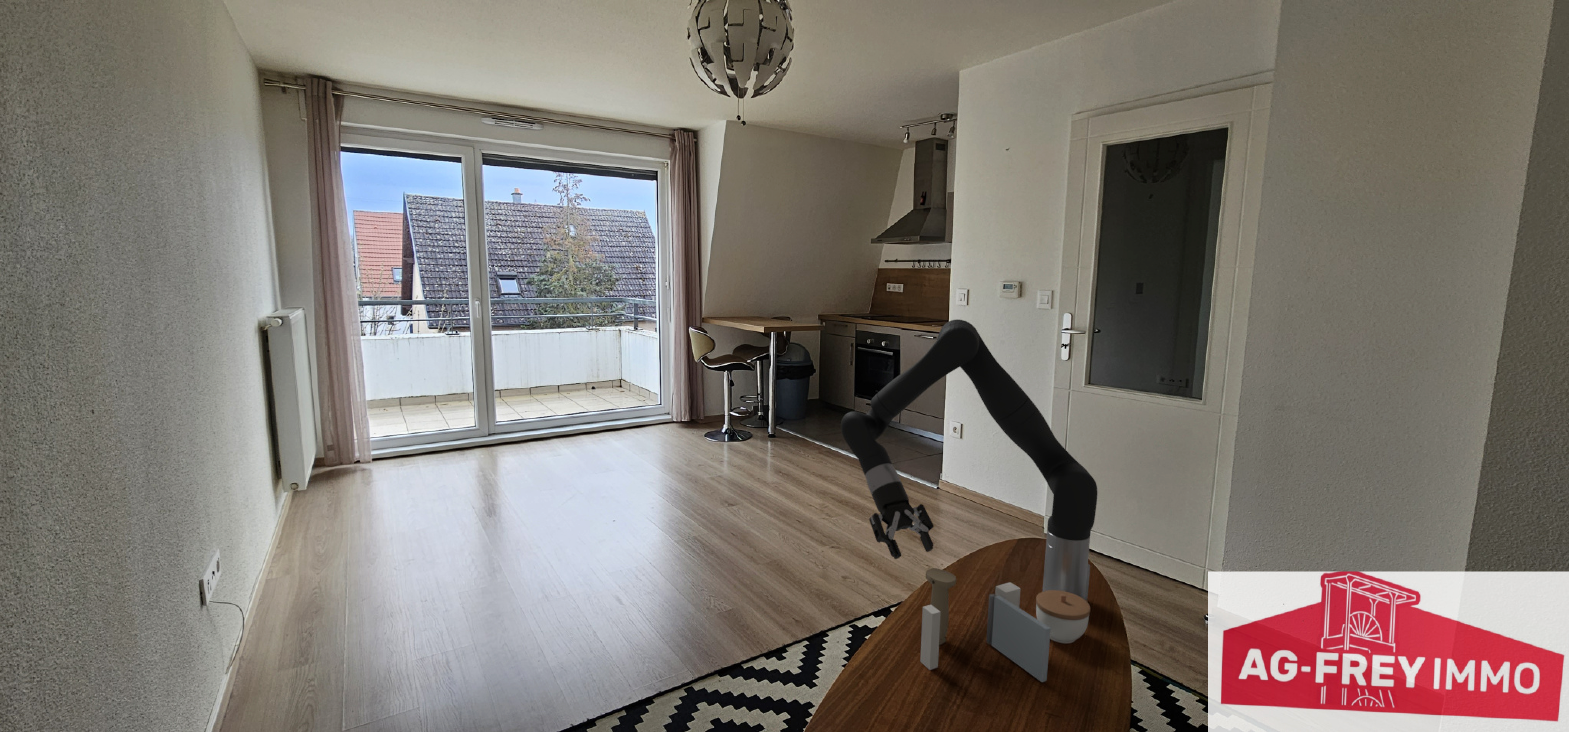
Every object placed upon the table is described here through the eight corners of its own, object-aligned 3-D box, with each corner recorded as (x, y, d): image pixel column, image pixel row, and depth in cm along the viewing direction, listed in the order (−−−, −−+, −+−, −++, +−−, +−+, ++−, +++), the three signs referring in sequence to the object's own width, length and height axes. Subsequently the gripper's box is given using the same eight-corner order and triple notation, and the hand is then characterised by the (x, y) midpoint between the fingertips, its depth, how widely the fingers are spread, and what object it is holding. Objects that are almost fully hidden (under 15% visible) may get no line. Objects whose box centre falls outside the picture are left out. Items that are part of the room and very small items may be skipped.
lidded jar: (1082, 655, 138) (1086, 613, 137) (1028, 639, 144) (1031, 598, 142) (1091, 631, 147) (1094, 591, 146) (1039, 616, 153) (1042, 578, 151)
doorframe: (1006, 633, 146) (1009, 582, 144) (1016, 640, 143) (1020, 588, 141) (920, 661, 136) (922, 606, 134) (929, 669, 133) (932, 613, 131)
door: (984, 641, 142) (987, 592, 141) (990, 639, 143) (993, 590, 141) (1041, 682, 129) (1045, 629, 127) (1047, 680, 130) (1051, 627, 128)
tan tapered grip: (942, 652, 139) (946, 584, 137) (918, 638, 144) (921, 572, 142) (957, 643, 142) (960, 577, 140) (932, 630, 147) (935, 566, 145)
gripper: (866, 485, 151) (895, 553, 143) (918, 475, 157) (948, 541, 149) (853, 499, 157) (880, 566, 149) (904, 490, 163) (932, 554, 155)
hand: (914, 553), depth 149 cm, fingers open, 8 cm apart
